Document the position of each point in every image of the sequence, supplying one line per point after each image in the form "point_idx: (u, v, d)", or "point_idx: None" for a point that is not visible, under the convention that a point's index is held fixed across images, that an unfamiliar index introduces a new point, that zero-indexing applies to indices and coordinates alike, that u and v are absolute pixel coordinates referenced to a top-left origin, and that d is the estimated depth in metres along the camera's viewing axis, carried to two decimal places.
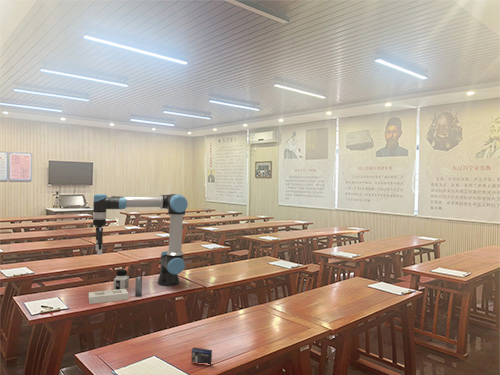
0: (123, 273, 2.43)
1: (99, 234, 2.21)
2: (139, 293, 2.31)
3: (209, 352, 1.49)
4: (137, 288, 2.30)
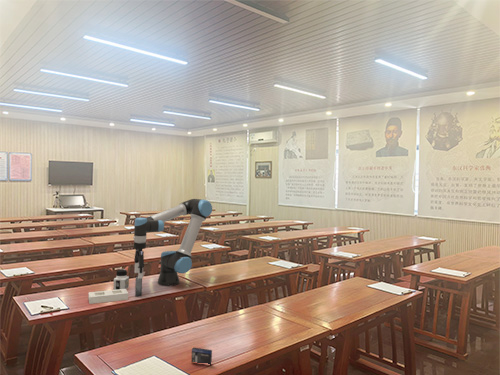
0: (123, 273, 2.43)
1: (140, 258, 2.24)
2: (139, 293, 2.31)
3: (209, 352, 1.49)
4: (137, 288, 2.30)
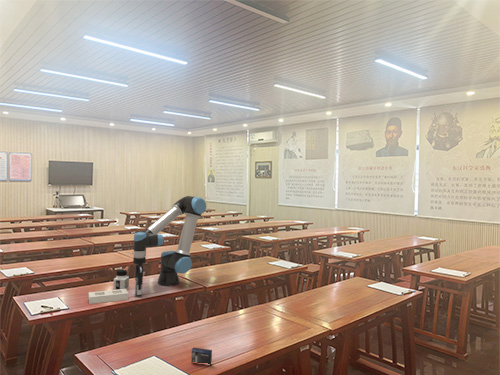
0: (123, 273, 2.43)
1: (140, 275, 2.27)
2: None
3: (209, 352, 1.49)
4: None
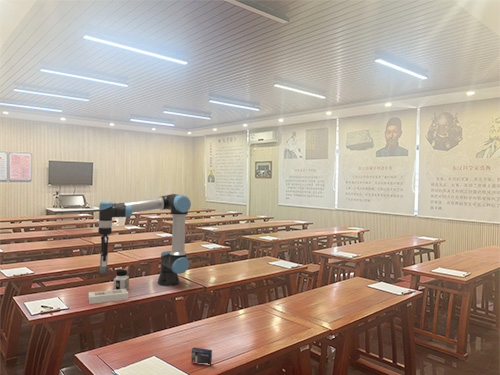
0: (123, 273, 2.43)
1: (104, 246, 2.17)
2: (104, 269, 2.21)
3: (209, 352, 1.49)
4: None
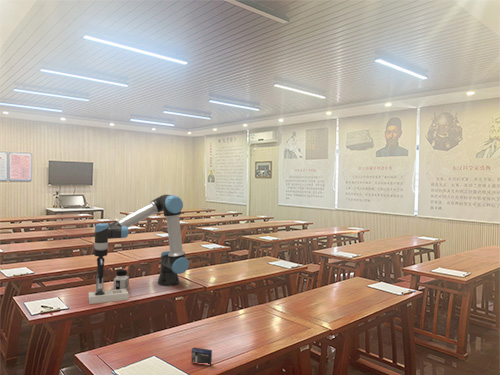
0: (123, 273, 2.43)
1: (100, 268, 2.16)
2: (100, 291, 2.20)
3: (209, 352, 1.49)
4: None
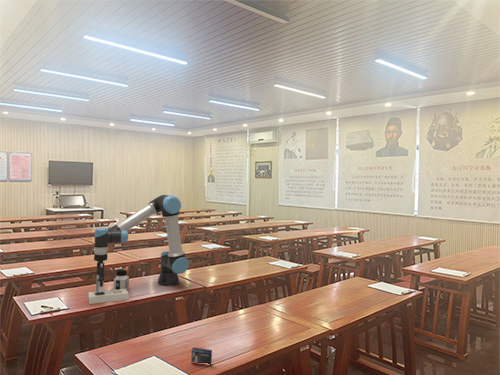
0: (123, 273, 2.43)
1: (100, 271, 2.14)
2: None
3: (209, 352, 1.49)
4: None
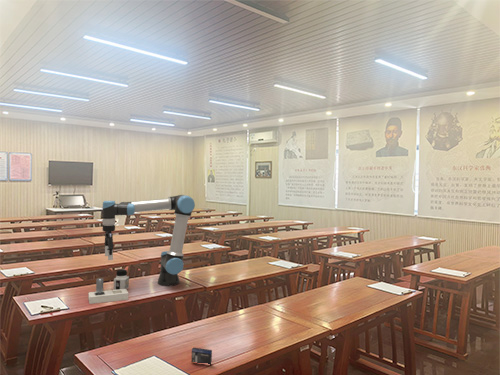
0: (123, 273, 2.43)
1: (109, 240, 2.26)
2: None
3: (209, 352, 1.49)
4: (98, 290, 2.20)
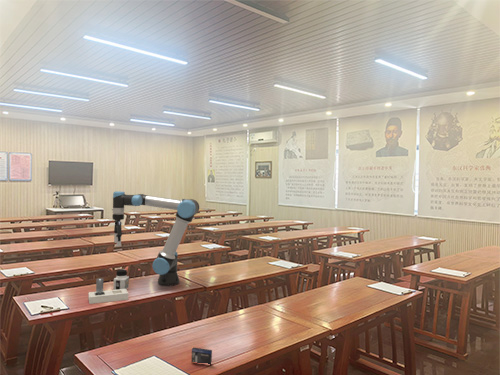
0: (123, 273, 2.43)
1: (118, 227, 2.45)
2: None
3: (209, 352, 1.49)
4: (98, 290, 2.20)
